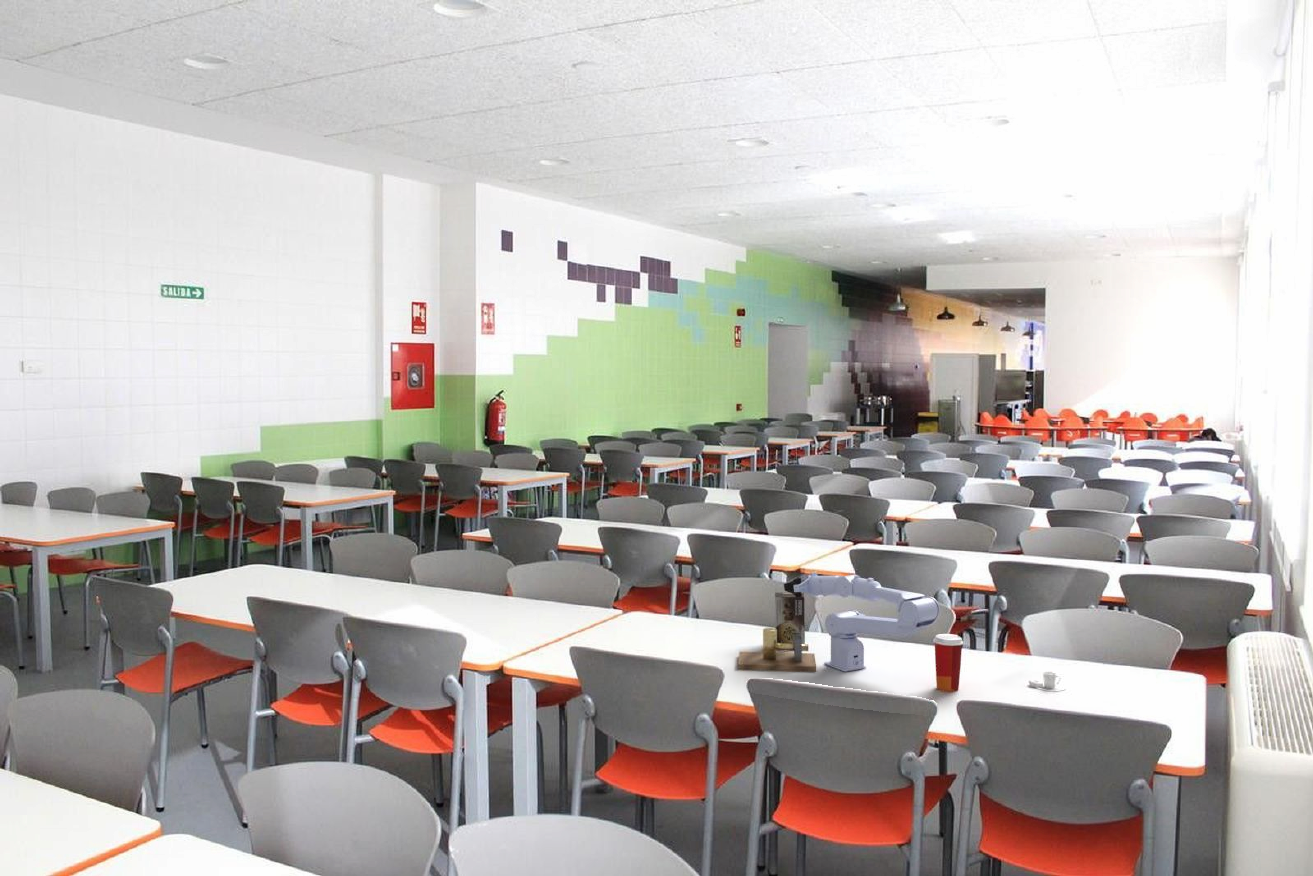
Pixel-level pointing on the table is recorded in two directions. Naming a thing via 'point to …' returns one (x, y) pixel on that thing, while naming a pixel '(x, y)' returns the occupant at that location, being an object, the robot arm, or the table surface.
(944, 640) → the paper cup
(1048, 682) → the teacup and saucer
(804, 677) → the table surface
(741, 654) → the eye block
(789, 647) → the gold cylinder with rod
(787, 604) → the coffee box
